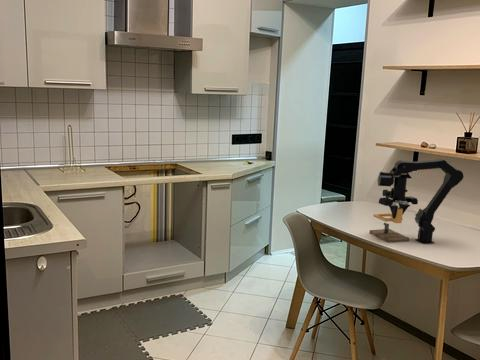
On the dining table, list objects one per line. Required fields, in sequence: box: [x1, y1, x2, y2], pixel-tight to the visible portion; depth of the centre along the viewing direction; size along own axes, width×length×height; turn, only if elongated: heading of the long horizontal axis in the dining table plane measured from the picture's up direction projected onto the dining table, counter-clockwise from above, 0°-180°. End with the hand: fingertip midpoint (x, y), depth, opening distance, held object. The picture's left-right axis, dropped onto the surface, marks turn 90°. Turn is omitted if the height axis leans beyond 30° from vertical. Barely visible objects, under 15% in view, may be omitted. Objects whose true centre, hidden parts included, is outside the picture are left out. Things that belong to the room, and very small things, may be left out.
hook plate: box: [369, 222, 410, 244], centre depth 236 cm, size 16×12×6 cm
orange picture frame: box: [373, 206, 403, 224], centre depth 234 cm, size 14×10×7 cm
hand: (396, 218), depth 230 cm, fingers closed on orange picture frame, 3 cm apart
